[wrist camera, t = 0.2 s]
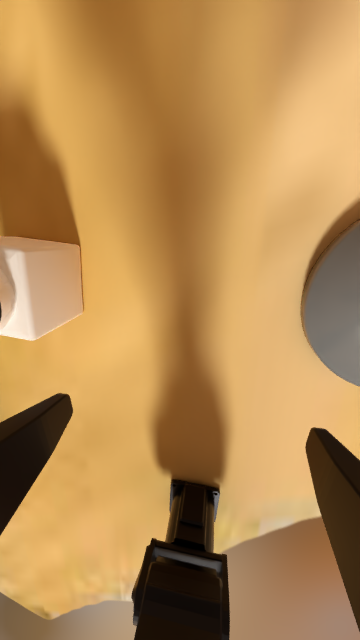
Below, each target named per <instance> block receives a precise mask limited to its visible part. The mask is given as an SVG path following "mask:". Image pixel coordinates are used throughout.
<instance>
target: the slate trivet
mask: <svg viewBox="0 0 360 640" xmlns="http://www.w3.org/2000/svg"><path fill="white" fill-rule="evenodd" d="M301 322H302V327H303V331H304V334H305V337H306V339H307V341H308V343H309V345H310V346H311V348H312V349H313V351H314V352H315V354H316V355H317V356H318V357H319V358H320V360H321V361H322V362H323V363H324V364H325V365H326V366H327V367H328V368H329V369H330V370H331V371H332V372H334V373H335V374H336V375H337V376H339V377H341V378H343V379H344V380H346V381H348V382H350V383H352V384H355V385H357V386H360V219H359V220H357V221H356V222H354V223H353V224H351V225H350V226H349V227H348V228H347V229H345V230H344V231H343V232H342V233H341V234H339V235H338V236H337V237H336V238H335V239H334V240H333V241H332V243H331V244H330V245H329V246H328V247H327V248H326V249H325V251H324V252H323V253H322V254H321V256H320V257H319V259H318V260H317V262H316V263H315V265H314V267H313V268H312V270H311V272H310V275H309V277H308V279H307V281H306V284H305V287H304V291H303V295H302V301H301Z"/></svg>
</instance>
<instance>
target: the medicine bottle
mask: <svg viewBox="0 0 360 640" xmlns="http://www.w3.org/2000/svg"><path fill="white" fill-rule="evenodd" d="M82 313H83V300H82V280H81V260H80V247H79V246H78V245H76V244H69V243H62V242H54V241H46V240H39V239H31V238H23V237H15V236H0V335H4V336H10V337H15V338H20V339H25V340H31V341H33V340H36V339H38V338H40V337H42V336H43V335H45V334H47V333H49V332H51V331H52V330H54V329H56V328H58V327H60V326H61V325H63V324H65V323H67V322H68V321H70V320H72V319H74V318H76V317H77V316H79V315H81V314H82Z"/></svg>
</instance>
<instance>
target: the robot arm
mask: <svg viewBox="0 0 360 640" xmlns="http://www.w3.org/2000/svg"><path fill="white" fill-rule="evenodd" d="M72 413H73V408H72V404H71V399H70V396H69V395H68V394H62V393H58V394H56V395H54V396H52V397H50V398H48V399H46V400H44V401H42V402H40V403H38V404H36V405H34V406H32V407H30V408H28V409H26V410H24V411H22V412H20V413H18V414H16V415H14V416H12V417H10V418H8V419H6V420H5V421H3V422H1V423H0V535H1V534H2V532H3V531H4V529H5V527H6V526H7V524H8V523H9V521H10V519H11V518H12V516H13V515H14V513H15V512H16V510H17V508H18V507H19V505H20V504H21V502H22V501H23V499H24V497H25V496H26V494H27V493H28V491H29V490H30V488H31V486H32V485H33V483H34V482H35V480H36V479H37V477H38V475H39V474H40V472H41V471H42V469H43V468H44V466H45V464H46V463H47V461H48V460H49V458H50V456H51V455H52V453H53V451H54V449H55V447H56V446H57V444H58V442H59V440H60V438H61V436H62V434H63V432H64V430H65V428H66V426H67V424H68V422H69V420H70V419H71V416H72ZM306 454H307V458H308V463H309V467H310V472H311V476H312V481H313V485H314V490H315V494H316V498H317V502H318V506H319V509H320V512H321V515H322V518H323V521H324V524H325V527H326V530H327V534H328V536H329V539H330V543H331V546H332V549H333V551H334V555H335V558H336V561H337V564H338V567H339V570H340V573H341V576H342V579H343V582H344V586H345V588H346V592H347V595H348V598H349V601H350V604H351V607H352V610H353V613H354V616H355V619H356V622H357V625H358V628H359V631H360V460H359V459H358V458H357V457H355V456H354V455H353V454H352V453H351V452H350V451H349V450H348V449H347V448H346V447H345V446H343V445H342V444H341V443H340V442H339V441H338V440H337V439H336V438H335V437H334V436H333V435H332V434H330V433H329V432H328V431H327V430H326V429H322V428H315V427H313V428H311V430H310V432H309V436H308V439H307V442H306ZM219 496H220V491H219V489H217V488H212V487H207V486H202V485H197V484H193V483H188V482H183V481H178V480H172V482H171V491H170V518H169V523H168V529H167V534H166V540H165V542H163V541H159V540H157V539H155V538H152V540H151V543H150V545H149V546H147V548H146V552H145V556H144V560H143V564H142V567H141V570H140V572H139V575H138V577H137V580H136V583H135V585H134V588H133V591H132V600H133V603H134V615H133V625H136V626H137V628H136V633H135V638H134V640H229V631H230V630H229V629H230V625H229V624H230V617H229V616H230V615H229V614H230V613H229V588H228V569H227V555H226V554H222V555H221V554H216V553H213V548H214V522H215V520H216V514H217V508H218V502H219Z"/></svg>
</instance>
